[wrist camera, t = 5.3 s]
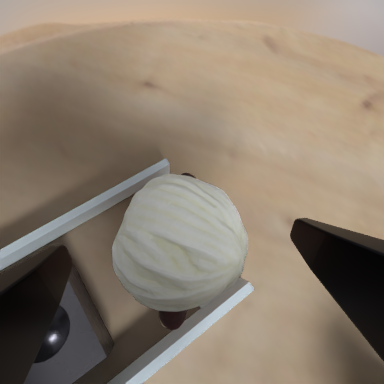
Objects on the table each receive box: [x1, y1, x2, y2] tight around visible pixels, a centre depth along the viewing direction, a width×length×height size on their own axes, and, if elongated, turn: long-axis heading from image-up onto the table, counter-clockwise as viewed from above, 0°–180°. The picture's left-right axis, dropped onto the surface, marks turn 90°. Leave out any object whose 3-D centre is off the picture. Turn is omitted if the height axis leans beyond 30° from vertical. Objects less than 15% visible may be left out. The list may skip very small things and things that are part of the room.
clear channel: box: [0, 158, 254, 384], centre depth 13 cm, size 16×12×2 cm
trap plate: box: [24, 265, 114, 384], centre depth 13 cm, size 5×7×2 cm
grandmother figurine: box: [112, 173, 248, 330], centre depth 10 cm, size 8×4×13 cm, turn 4°
